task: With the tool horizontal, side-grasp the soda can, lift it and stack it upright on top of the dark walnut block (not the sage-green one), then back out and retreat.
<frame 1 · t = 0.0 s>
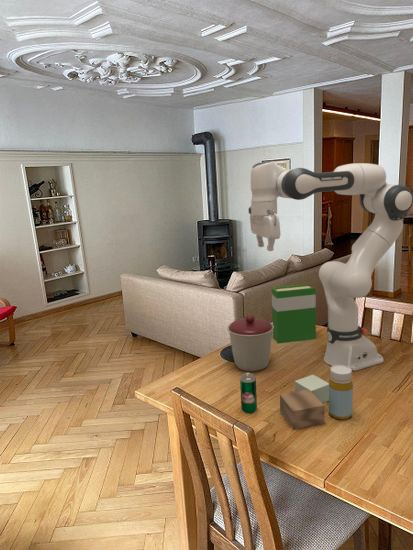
hand: (265, 248, 146), 48 cm above the table, tool pointing down, fingers open, 8 cm apart
sage block: (312, 398, 137), on the table
soda can: (249, 410, 133), on the table
bottle: (340, 414, 127), on the table
canister: (251, 366, 163), on the table
green cereal box: (294, 338, 188), on the table
walnut block: (301, 417, 127), on the table
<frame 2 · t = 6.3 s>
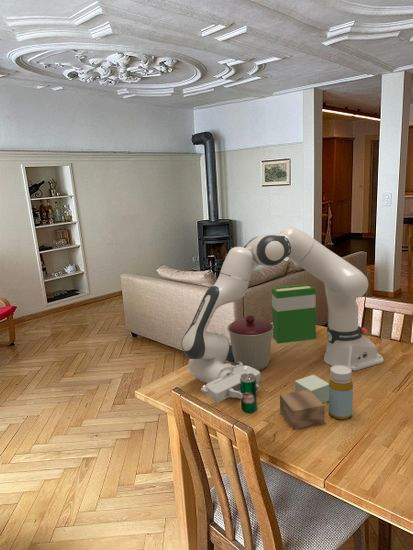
hand: (250, 392, 130), 7 cm above the table, tool horizontal, fingers closed on soda can, 5 cm apart
soda can: (249, 410, 133), on the table, touching gripper
everything else where it was.
when the fingers open (13 cm above the table, at t = 10.5 s): soda can stays where it is, resting on walnut block.
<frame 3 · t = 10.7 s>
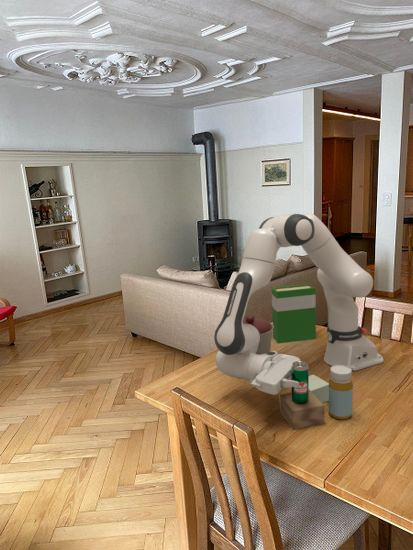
hand: (303, 378, 123), 13 cm above the table, tool horizontal, fingers open, 6 cm apart
soda can: (300, 400, 125), point 6 cm above the table, touching walnut block
everything else where it was.
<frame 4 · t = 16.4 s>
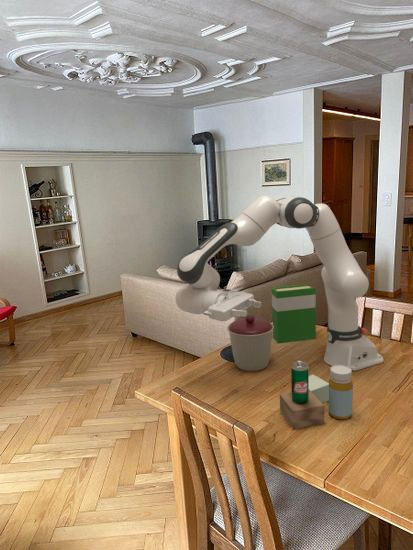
hand: (253, 309, 131), 32 cm above the table, tool horizontal, fingers open, 8 cm apart
nothing on the table moved.
at the end: soda can inside the target area on the walnut block (0.5 cm from its centre), point 5.8 cm above the walnut block's base; soda can tilted 0°; the gripper is holding nothing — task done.
